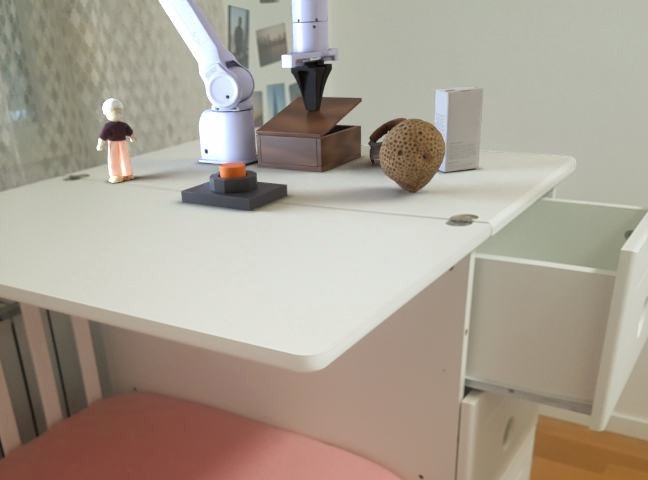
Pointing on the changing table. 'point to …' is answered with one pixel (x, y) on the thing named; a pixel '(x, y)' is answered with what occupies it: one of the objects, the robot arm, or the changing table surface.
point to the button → (232, 170)
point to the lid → (309, 118)
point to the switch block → (235, 192)
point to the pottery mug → (378, 134)
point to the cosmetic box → (459, 126)
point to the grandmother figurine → (116, 142)
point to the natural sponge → (412, 153)
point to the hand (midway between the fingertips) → (312, 110)
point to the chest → (310, 150)
